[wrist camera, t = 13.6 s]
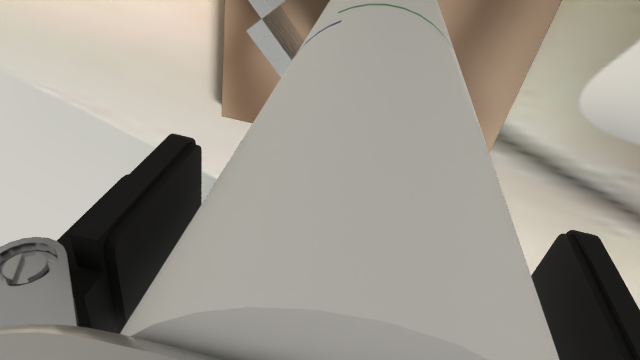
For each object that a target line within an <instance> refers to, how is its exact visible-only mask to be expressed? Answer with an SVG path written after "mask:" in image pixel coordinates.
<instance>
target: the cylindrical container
mask: <svg viewBox="0 0 640 360" xmlns="http://www.w3.org/2000/svg"><path fill="white" fill-rule="evenodd" d="M120 334H122V335H127V336H131V337H135V338H139V339H143V340H147V341H151V342H155V343H160V344H164V345H168V346H172V347H176V348H180V349H184V350H188V351H192V352H196V353H200V354H204V355H208V356H211V357H215V358H219V359H223V360H559V357H558V354H557V351H556V348H555V345H554V342H553V339H552V336H551V333H550V330H549V327H548V324H547V321H546V318H545V316H544V313H543V310H542V307H541V304H540V301H539V298H538V295H537V292H536V289H535V286H534V283H533V280H532V277H531V274H530V272H529V269H528V266H527V263H526V260H525V257H524V254H523V251H522V248H521V245H520V242H519V239H518V236H517V233H516V230H515V228H514V225H513V222H512V219H511V216H510V213H509V210H508V207H507V204H506V201H505V198H504V195H503V192H502V189H501V186H500V184H499V181H498V178H497V175H496V172H495V169H494V166H493V163H492V160H491V157H490V154H489V151H488V148H487V145H486V142H485V140H484V137H483V134H482V131H481V128H480V125H479V122H478V119H477V116H476V113H475V110H474V107H473V104H472V101H471V98H470V96H469V93H468V90H467V87H466V84H465V81H464V78H463V75H462V72H461V69H460V66H459V63H458V60H457V57H456V54H455V52H454V49H453V46H452V43H451V40H450V37H449V34H448V31H447V28H446V25H445V22H444V19H443V16H442V14H441V11H440V8H439V5H438V2H437V0H330V1H329V3H328V4H327V6H326V8H325V9H324V11H323V12H322V14H321V16H320V17H319V19H318V20H317V22H316V23H315V25H314V27H313V28H312V30H311V31H310V33H309V35H308V36H307V38H306V39H305V41H304V42H303V44H302V46H301V47H300V49H299V50H298V52H297V53H296V55H295V57H294V58H293V60H292V61H291V63H290V65H289V66H288V68H287V69H286V71H285V73H284V74H283V76H282V77H281V79H280V81H279V82H278V84H277V85H276V87H275V89H274V90H273V92H272V93H271V95H270V97H269V98H268V100H267V101H266V103H265V105H264V106H263V108H262V109H261V111H260V113H259V114H258V116H257V117H256V119H255V121H254V122H253V124H252V125H251V127H250V129H249V130H248V132H247V133H246V135H245V137H244V138H243V140H242V141H241V143H240V144H239V146H238V148H237V149H236V151H235V152H234V154H233V156H232V157H231V159H230V160H229V162H228V163H227V165H226V167H225V168H224V170H223V171H222V173H221V175H220V176H219V178H218V179H217V181H216V182H215V184H214V186H213V187H212V189H211V190H210V192H209V194H208V195H207V197H206V198H205V200H204V201H203V203H202V205H201V206H200V208H199V209H198V211H197V212H196V214H195V216H194V217H193V219H192V220H191V222H190V224H189V225H188V227H187V228H186V230H185V231H184V233H183V235H182V236H181V238H180V239H179V241H178V243H177V244H176V246H175V247H174V249H173V250H172V252H171V254H170V255H169V257H168V258H167V260H166V262H165V263H164V265H163V266H162V268H161V269H160V271H159V273H158V274H157V276H156V277H155V279H154V281H153V282H152V284H151V285H150V287H149V288H148V290H147V292H146V293H145V295H144V296H143V298H142V300H141V301H140V303H139V304H138V306H137V307H136V309H135V311H134V312H133V314H132V315H131V317H130V319H129V320H128V322H127V323H126V325H125V326H124V328H123V330H122V331H121V333H120Z"/></svg>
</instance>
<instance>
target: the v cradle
mask: <svg viewBox="0 0 640 360" xmlns="http://www.w3.org/2000/svg"><path fill="white" fill-rule="evenodd" d="M329 1H330V0H225V20H224V53H223V86H222V116H223V117H227V118H232V119H236V120H241V121H245V122H249V123H253V122H254V121H255V119H256V117H257V116H258V114H259V113H260V111H261V109H262V108H263V106H264V105H265V103H266V101H267V100H268V98H269V97H270V95H271V93H272V92H273V90H274V89H275V87H276V85H277V84H278V82H279V81H280V79H281V77H282V76H283V74H284V73H285V71H286V69H287V68H288V66H289V65H290V63H291V61H292V60H293V58H294V57H295V55H296V53H297V52H298V50H299V49H300V47H301V46H302V44H303V42H304V41H305V39H306V38H307V36H308V35H309V33H310V31H311V30H312V28H313V27H314V25H315V23H316V22H317V20H318V19H319V17H320V16H321V14H322V12H323V11H324V9H325V8H326V6H327V4H328V3H329ZM561 1H562V0H437V2H438V5H439V8H440V11H441V14H442V16H443V19H444V22H445V25H446V28H447V31H448V34H449V37H450V40H451V43H452V46H453V49H454V52H455V54H456V57H457V60H458V63H459V66H460V69H461V72H462V75H463V78H464V81H465V84H466V87H467V90H468V93H469V96H470V98H471V101H472V104H473V107H474V110H475V113H476V116H477V119H478V122H479V125H480V128H481V131H482V134H483V137H484V140H485V142H486V145H487V148H488V151H489V153H490V150H491V148H492V146H493V144H494V142H495V140H496V138H497V136H498V134H499V131H500V129H501V127H502V125H503V123H504V121H505V119H506V117H507V115H508V113H509V110H510V108H511V106H512V104H513V102H514V100H515V98H516V96H517V94H518V92H519V89H520V87H521V85H522V83H523V81H524V79H525V77H526V75H527V73H528V70H529V68H530V66H531V64H532V62H533V60H534V58H535V56H536V54H537V52H538V49H539V47H540V45H541V43H542V41H543V39H544V37H545V35H546V33H547V31H548V28H549V26H550V24H551V22H552V20H553V18H554V16H555V14H556V12H557V10H558V7H559V5H560V3H561Z"/></svg>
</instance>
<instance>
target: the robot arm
mask: <svg viewBox="0 0 640 360" xmlns="http://www.w3.org/2000/svg"><path fill="white" fill-rule="evenodd" d="M200 206H201V147H200V146H199V145H196V142H195V140H194V139H193V138H189V137H185V136H181V135H177V134H170V135H169V136H168V137H167V138H166V139H165V140H164V141H163V142H162V143H161V144H160V145H159V146H158V147H157V148H156V149H155V150H154V151H153V152H152V153H151V154H150V155H149V156H148V157H147V158H146V159H144V161H142V162H141V163H140V165H138V166H137V167H136V168H135V169H134V170H133V171H132V172H131V173H130V174H129V175H125V176H124V177H122V178H121V179H120V180H119V181H118V182H117V183H116V184H115V185H114V186H113V187H112V188H111V189H110V190H109V191H108V192H107V193H106V194H105V195H104V196H103V197H102V198H100V199H99V200H98V201H97V202H96V203H95V204H94V205H93V207H91V208H90V209H89V210H88V211H87V212H86V213H85V214H84V215H83V216H82V217H81V218H80V219H79V220H78V221H77V222H76V223H75V224H74V225H73V226H72V227H71V228H70V229H69V230H68V231H66V232H65V233H64V234H63V235H62V236H61V237H60V239H58V240H57V241H55V240H52V239H49V238H41V237H32V238H24V239H20V240H17V241H13V242H10V243H8V244H6V245H4V246H2V247H0V360H223V359H219V358H215V357H211V356H208V355H204V354H200V353H196V352H192V351H188V350H184V349H180V348H176V347H172V346H168V345H164V344H160V343H155V342H151V341H147V340H143V339H139V338H135V337H131V336H127V335H122V334H120V333H121V331H122V330H123V328H124V326H125V325H126V323H127V322H128V320H129V319H130V317H131V315H132V314H133V312H134V311H135V309H136V307H137V306H138V304H139V303H140V301H141V300H142V298H143V296H144V295H145V293H146V292H147V290H148V288H149V287H150V285H151V284H152V282H153V281H154V279H155V277H156V276H157V274H158V273H159V271H160V269H161V268H162V266H163V265H164V263H165V262H166V260H167V258H168V257H169V255H170V254H171V252H172V250H173V249H174V247H175V246H176V244H177V243H178V241H179V239H180V238H181V236H182V235H183V233H184V231H185V230H186V228H187V227H188V225H189V224H190V222H191V220H192V219H193V217H194V216H195V214H196V212H197V211H198V209H199V208H200ZM531 277H532V280H533V283H534V286H535V289H536V292H537V295H538V298H539V301H540V304H541V307H542V310H543V313H544V316H545V318H546V321H547V324H548V327H549V330H550V333H551V336H552V339H553V342H554V345H555V348H556V351H557V354H558V357H559V360H640V310H639V308H638V306H637V305H636V303H635V301H634V299H633V297H632V296H631V294H630V292H629V290H628V288H627V287H626V285H625V283H624V281H623V279H622V278H621V276H620V274H619V272H618V270H617V269H616V267H615V265H614V263H613V261H612V260H611V258H610V256H609V254H608V252H607V251H606V249H605V247H604V245H603V243H602V242H601V240H600V239H599V237H598V236H595V235H592V234H588V233H583V232H579V231H575V230H570V231H568V232H567V233H566V234H560V235H559V236H558V237H557V238H556V240H555V241H554V243H553V244H552V246H551V247H550V249H549V250H548V252H547V253H546V255H545V256H544V258H543V259H542V261H541V262H540V264H539V265H538V267H537V268H536V270H535V271H534V273H533V274H532V276H531Z"/></svg>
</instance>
